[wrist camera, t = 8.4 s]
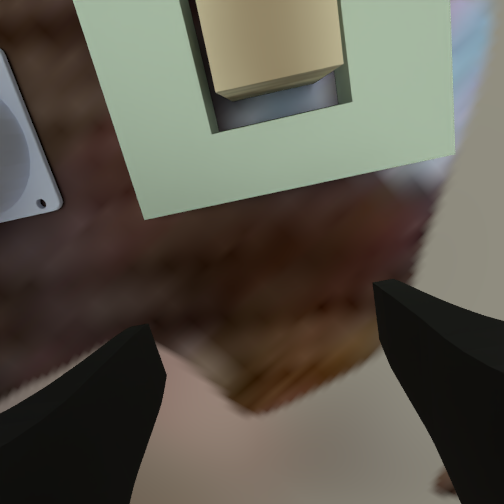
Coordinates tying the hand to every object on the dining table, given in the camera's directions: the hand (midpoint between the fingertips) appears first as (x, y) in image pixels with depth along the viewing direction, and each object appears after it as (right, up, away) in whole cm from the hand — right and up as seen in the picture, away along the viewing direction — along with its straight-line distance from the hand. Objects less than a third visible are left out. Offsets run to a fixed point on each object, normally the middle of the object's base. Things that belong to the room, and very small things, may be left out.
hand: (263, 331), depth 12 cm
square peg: (0, +12, +6) cm, 13 cm away
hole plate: (0, +12, +6) cm, 13 cm away
